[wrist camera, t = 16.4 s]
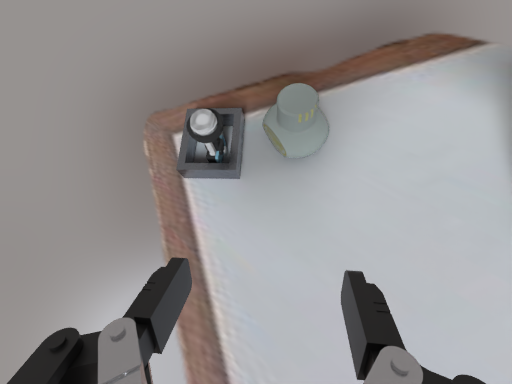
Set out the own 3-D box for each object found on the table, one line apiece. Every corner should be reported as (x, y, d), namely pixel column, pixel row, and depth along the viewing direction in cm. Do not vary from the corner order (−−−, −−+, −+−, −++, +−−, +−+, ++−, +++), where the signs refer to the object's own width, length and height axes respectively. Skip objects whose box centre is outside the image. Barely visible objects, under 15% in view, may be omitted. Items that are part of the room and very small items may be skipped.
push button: (208, 133, 46) (189, 95, 37) (236, 134, 45) (224, 96, 36) (202, 165, 44) (180, 134, 34) (231, 167, 43) (217, 136, 34)
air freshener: (258, 127, 45) (252, 87, 36) (295, 105, 46) (299, 60, 37) (292, 172, 42) (296, 141, 32) (332, 147, 43) (347, 109, 33)
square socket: (244, 120, 46) (241, 107, 43) (239, 178, 42) (236, 170, 39) (193, 120, 47) (187, 108, 44) (184, 177, 43) (176, 169, 40)
